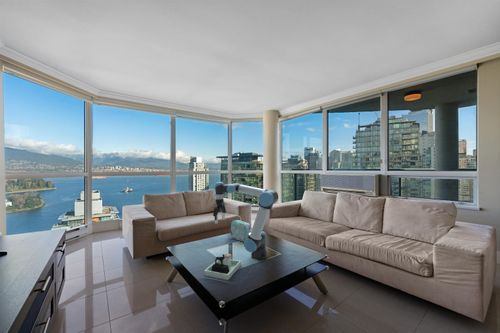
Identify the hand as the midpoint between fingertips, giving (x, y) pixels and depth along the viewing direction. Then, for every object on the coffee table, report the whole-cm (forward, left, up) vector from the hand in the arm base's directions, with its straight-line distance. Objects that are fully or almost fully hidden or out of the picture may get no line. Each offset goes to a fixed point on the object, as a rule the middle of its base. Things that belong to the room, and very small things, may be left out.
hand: (219, 221), depth 196 cm
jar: (-17, +18, -31) cm, 39 cm away
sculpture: (-17, +30, -31) cm, 47 cm away
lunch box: (0, -45, -32) cm, 55 cm away
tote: (-17, +25, -32) cm, 44 cm away
